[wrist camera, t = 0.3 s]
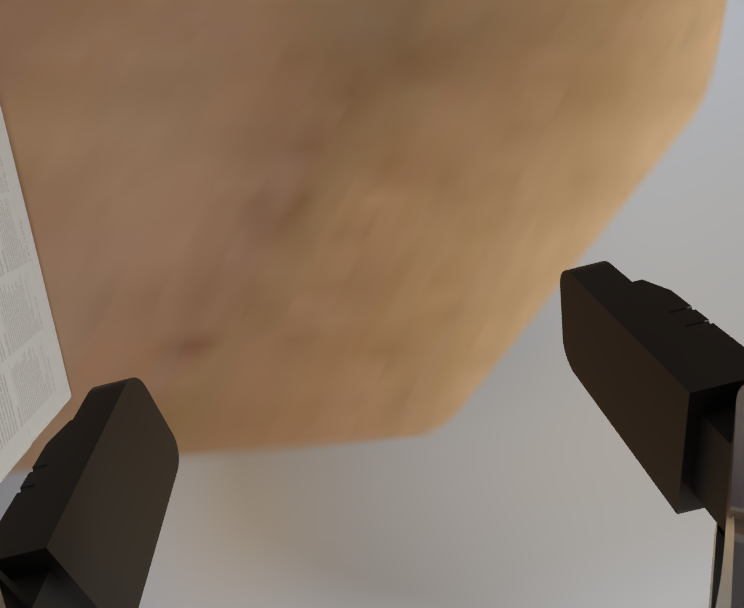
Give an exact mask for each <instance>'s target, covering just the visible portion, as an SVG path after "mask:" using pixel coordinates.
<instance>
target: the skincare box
mask: <svg viewBox="0 0 744 608" xmlns="http://www.w3.org/2000/svg"><path fill="white" fill-rule="evenodd" d="M70 398H71V392H70V388H69V384H68V380H67V376H66V372H65V368H64V363H63V359H62V355H61V351H60V347H59V343H58V339H57V335H56V330H55V326H54V322H53V319H52V315H51V310H50V306H49V302H48V298H47V294H46V289H45V285H44V281H43V277H42V273H41V269H40V265H39V260H38V256H37V252H36V248H35V244H34V240H33V236H32V232H31V228H30V224H29V220H28V216H27V212H26V208H25V204H24V199H23V195H22V191H21V187H20V183H19V179H18V175H17V171H16V167H15V163H14V159H13V155H12V151H11V147H10V143H9V139H8V135H7V131H6V127H5V123H4V119H3V114H2V110H1V106H0V483H1V482H2V480H3V479H4V478H5V477H6V475H7V474H8V473H9V472H10V471H11V469H12V468H13V467H14V466H15V465H16V463H17V462H18V461H19V460H20V459H21V457H22V456H23V455H24V454H25V452H26V451H27V450H28V449H29V448H30V446H31V445H32V442H33V441H34V440H35V439H36V438H37V436H38V435H39V434H40V433H41V432H42V431H43V430H44V428H45V427H46V426H47V425H48V424H49V423H50V421H51V420H52V419H53V418H54V417H55V416H56V415H57V413H58V412H59V411H60V410H61V409H62V408H63V406H64V405H65V404H66V403H67V402H68V401H69V399H70Z"/></svg>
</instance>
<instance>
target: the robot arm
mask: <svg viewBox="0 0 744 608" xmlns="http://www.w3.org/2000/svg"><path fill="white" fill-rule="evenodd" d="M560 291H561V310H562V330H563V344H564V349H565V353H566V356H567V359H568V361H569V364H570V366H571V368H572V370H573V372H574V373H575V375H576V376H577V377H578V379H579V380H580V382H581V383H582V384H583V386H584V387H585V389H586V390H587V391H588V393H589V394H590V395H591V397H592V398H593V400H594V401H595V402H596V404H597V405H598V406H599V408H600V409H601V411H602V412H603V413H604V414H605V416H606V417H607V419H608V420H609V421H610V423H611V424H612V426H613V427H614V428H615V430H616V431H617V432H618V434H619V435H620V437H621V438H622V439H623V441H624V442H625V443H626V445H627V446H628V447H629V449H630V450H631V452H632V453H633V454H634V456H635V457H636V459H637V460H638V461H639V463H640V464H641V465H642V467H643V468H644V469H645V471H646V472H647V474H648V475H649V476H650V477H651V479H652V480H653V482H654V483H655V485H656V486H657V487H658V489H659V490H660V491H661V493H662V494H663V495H664V497H665V498H666V500H667V501H668V502H669V504H670V505H671V506H672V508H673V509H674V511H675V512H676V513H677V514H680V513H684V512H688V511H693V510H697V509H701V508H706V510H707V511H708V512H709V513H710V515H711V516H712V517H713V518H714V520H715V521H716V528H715V534H714V547H713V548H714V549H713V559H712V572H711V586H710V598H709V608H744V347H743V346H742V345H741V344H739V343H738V342H737V341H736V340H734V339H733V338H732V337H730V336H729V335H728V334H726V333H725V332H724V331H723V330H721V329H720V328H718V326H716V325H715V324H714V323H712V324H710V323H709V319H707V318H706V317H705V316H703V315H702V314H701V313H699V312H698V311H697V310H692V307H691V306H690V305H689V304H688V303H687V302H685V301H684V300H683V299H681V298H680V297H679V296H678V295H676V294H675V293H674V292H672V291H671V290H669V289H666V288H663V287H661V286H658V285H655V284H652V283H650V282H647V281H644V280H638V281H634V282H632V281H630V280H629V279H628V278H627V277H626V276H624V275H623V274H622V273H621V272H620V271H619V270H617V269H616V268H615V267H614V266H613V265H611V264H610V263H609V262H607V261H602V262H598V263H594V264H590V265H586V266H582V267H578V268H574V269H570V270H566V271H563V272H562V274H561V278H560ZM178 464H179V454H178V448H177V444H176V440H175V438H174V436H173V434H172V432H171V430H170V428H169V427H168V425H167V423H166V421H165V420H164V418H163V416H162V414H161V413H160V411H159V409H158V407H157V406H156V404H155V402H154V400H153V399H152V397H151V395H150V393H149V391H148V390H147V388H146V386H145V385H144V383H143V382H142V381H141V380H139V379H138V378H129V379H125V380H121V381H117V382H113V383H109V384H105V385H101V386H97V387H94V388H92V389H91V390H90V391H89V393H88V394H87V396H86V398H85V400H84V401H83V403H82V405H81V407H80V408H79V410H78V412H77V414H76V415H75V417H74V419H73V420H71V421H69V422H68V423H67V424H66V425H65V426H64V427H63V428H62V429H61V430H60V431H59V432H58V433H57V434H56V435H55V436H54V437H53V438H52V439H51V440H50V441H49V442H48V443H47V444H46V446H45V448H44V449H43V451H42V452H41V454H40V456H39V457H38V459H37V461H36V462H35V464H34V466H33V467H32V468H33V472H30V473H29V474H28V476H27V477H26V479H25V481H24V483H23V484H22V486H21V488H20V489H21V492H20V493H17V494H16V496H15V497H14V499H13V501H12V503H11V504H10V506H9V507H8V509H7V511H6V512H5V514H4V516H3V517H2V519H1V521H0V608H138V607H139V604H140V600H141V597H142V593H143V590H144V586H145V583H146V579H147V576H148V572H149V568H150V565H151V562H152V558H153V555H154V551H155V547H156V544H157V541H158V537H159V534H160V530H161V527H162V523H163V520H164V516H165V512H166V509H167V505H168V502H169V498H170V495H171V491H172V488H173V484H174V481H175V477H176V473H177V470H178Z"/></svg>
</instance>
